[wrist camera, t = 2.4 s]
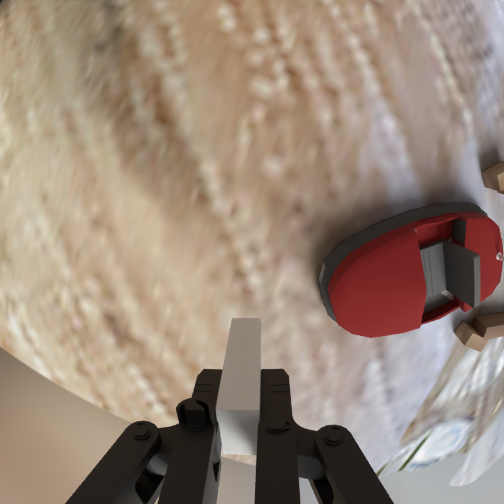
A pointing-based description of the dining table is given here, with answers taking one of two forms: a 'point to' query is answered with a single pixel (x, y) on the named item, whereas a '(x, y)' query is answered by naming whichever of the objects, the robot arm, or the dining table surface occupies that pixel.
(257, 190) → the dining table surface
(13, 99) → the dining table surface
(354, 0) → the dining table surface
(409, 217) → the bumper car
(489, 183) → the cradle
